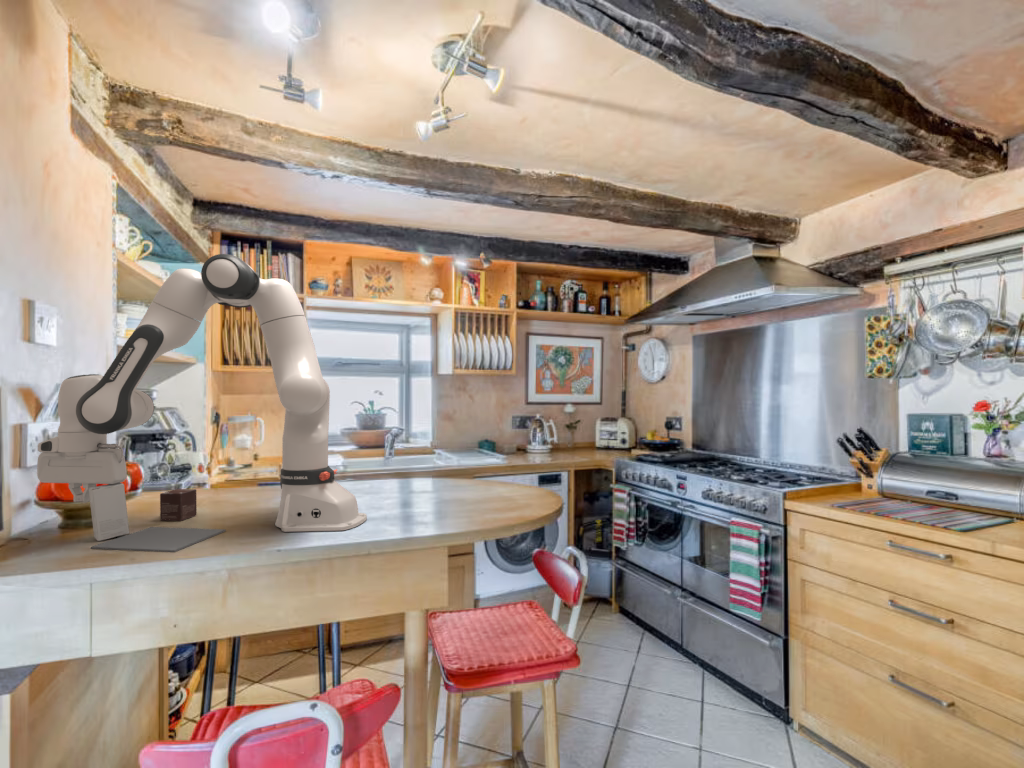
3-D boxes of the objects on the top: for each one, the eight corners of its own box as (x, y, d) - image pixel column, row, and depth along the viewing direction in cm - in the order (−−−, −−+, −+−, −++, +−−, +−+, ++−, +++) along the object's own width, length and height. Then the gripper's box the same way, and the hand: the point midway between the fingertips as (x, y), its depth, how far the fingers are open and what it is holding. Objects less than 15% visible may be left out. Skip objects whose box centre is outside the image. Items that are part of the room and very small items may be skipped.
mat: (225, 531, 124) (225, 529, 124) (174, 552, 108) (174, 550, 108) (151, 528, 126) (151, 526, 126) (90, 548, 110) (90, 546, 110)
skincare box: (125, 530, 122) (120, 481, 122) (130, 534, 119) (125, 483, 119) (92, 538, 117) (87, 487, 117) (97, 542, 115) (92, 489, 114)
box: (197, 515, 139) (197, 489, 139) (180, 521, 133) (180, 493, 133) (176, 515, 139) (176, 488, 139) (159, 521, 133) (159, 493, 133)
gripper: (134, 442, 121) (134, 500, 121) (58, 441, 124) (58, 498, 124) (110, 445, 115) (110, 506, 115) (31, 444, 117) (30, 504, 117)
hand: (82, 502), depth 119 cm, fingers closed
